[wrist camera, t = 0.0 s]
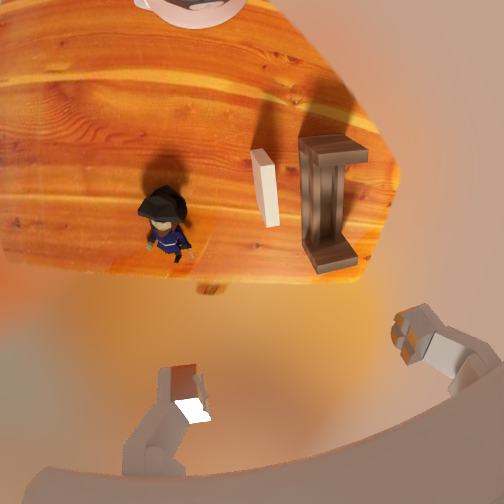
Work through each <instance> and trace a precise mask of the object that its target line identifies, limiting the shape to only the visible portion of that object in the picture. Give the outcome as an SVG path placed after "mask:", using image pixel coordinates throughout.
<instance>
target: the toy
mask: <svg viewBox="0 0 504 504" xmlns="http://www.w3.org/2000/svg"><path fill="white" fill-rule="evenodd" d="M187 212H188V211H187V207H186V202H185V199H184V198H182V197H181V196H180V195H179V194H178V193H177V192H176V191H175V190H173V189H172V188H170V187H169V186H168V185H166V186H163V187H161V188H158V189H156V190H155V191H154V192H153V193H152V194H151V196H150V197H148V198H145V199H144V201H143V202H142V204H141V206H140V207H139V209H138V215H139V216H143V217H147V218H149V221H150V225H151V229H152V230H153V228H154V230H153V234H152V236H151V237H150V238H149V242H148V243H147V245H146V248H147V250H149V251H150V250H151V249H152V248H153V243H155V241H156V237H157V239H158V244H157V247H159V248H160V249H162V250H163V251H165V253H168V254H170V253H175V255H176V258H175V261H174V262H175V263H178V262H179V260H180V258H181V256H182V255H181V251H180V250H181V248H182V249H187V251H188V248H192V247H191V244H189V242H188V241H187V239H186V237H185V235H184V234H183V232H182V230H181V229H180V227H179V225H178V223H179V222H180V223H184V221H185V218H186V215H187ZM178 237H179V238H180V239H181V240H180V239H179V238H178ZM188 252H189V253H191V254H192V252H190V251H188ZM193 257H194V256H193V254H192V258H191V259H189V260H192V259H193Z"/></svg>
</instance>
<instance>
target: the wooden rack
mask: <svg viewBox="0 0 504 504" xmlns="http://www.w3.org/2000/svg"><path fill="white" fill-rule="evenodd" d="M298 147H299V166H300V188H301V219H302V246H303V248H304V250H305V252H306V254H307V256H308V258H309V259H310V261H311V263H312V265H313V267H314V269H315V271H316V273H317V275H318V274H322V273H326V272H330V271H335V270H339V269H343V268H347V267H351V266H356V265H357V263H358V255H357V254H356V253H355V251H354V250H353V248H352V247H351V246H350V244H349V243H348V241H347V240H346V239H345V237H344V236H343V235H342V233H341V229H342V214H343V195H344V165H346V164H356V163H365V162H368V149H366V148H365V147H363V146H362V145H360V144H358V143H357V142H355V141H354V140H352V139H350V138H348V137H347V136H345V135H343V134H331V135H319V136H309V137H300V138H298Z"/></svg>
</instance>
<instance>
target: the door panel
mask: <svg viewBox="0 0 504 504" xmlns="http://www.w3.org/2000/svg"><path fill="white" fill-rule="evenodd" d="M250 152H251V160H252V167H253V175H254V183H255V191H256V199H257V205H258V207H259V210H260V212H261V215H262V217H263V220H264V222H265V225H266V227H267V228H268V227H273V226H278V225H279V212H278V199H277V187H276V176H275V165H274V163H273V162H272V160H271V159H270V158H269V156H268V155H267V153H266V152H265V151H264V149H263V148H260V149H254V150H250Z"/></svg>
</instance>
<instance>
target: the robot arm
mask: <svg viewBox="0 0 504 504" xmlns="http://www.w3.org/2000/svg"><path fill="white" fill-rule="evenodd" d="M246 2H247V0H134V3H135V5H136V6H137V7H139V8H143V9H146V10H151V11H153V12H155V13H156V14H157V15H158V16H159V17H161V18H162V19H163V20H165V21H166V22H168V23H170V24H172V25H175V26H178V27H182V28H189V29H200V28H208V27H212V26H215V25H218V24H221V23H223V22H225V21H227V20H229V19H230V18H232V17H233V16H235V15H236V14H237V13H238V12H239V11H240V10H241V9H242V8H243V6H244V5H245V3H246ZM394 321H395V322H396V323H395V324H394V325H393V326H392V328H391V339H392V342H393V344H394V346H395V347H396V348H398V349H400V350H401V352H400V355H401V357H402V358H403V360H404V362H405V363H406V365H407V366H408V365H410V364H413V363H415V362H418V361H420V360H422V359H423V361H424V362H426V363H427V364H429V365H431V366H432V367H434V368H435V369H437V370H439V371H440V372H442V373H443V374H445V375H446V376H448V377H449V378H451V379H453V381H452V382H451V384H450V385H449V387H448V392H449V394H450V395H451V397H450V398H448V399H447V400H445V401H443V402H441V403H440V404H438V405H436V406H434V407H432V408H430V409H428V410H427V411H425V412H423V413H421V414H419V415H417V416H415V417H413V418H411V419H409V420H407V421H404V422H402V423H400V424H398V425H396V426H393V427H391V428H389V429H386V430H384V431H382V432H379V433H377V434H374V435H372V436H369V437H367V438H364V439H362V440H359V441H356V442H353V443H350V444H348V445H345V446H342V447H339V448H336V449H333V450H329V451H326V452H323V453H319V454H316V455H312V456H309V457H305V458H301V459H297V460H293V461H289V462H284V463H280V464H275V465H270V466H266V467H260V468H254V469H248V470H242V471H234V472H227V473H218V474H208V475H195V476H186V472H185V467H184V466H183V465H181V464H180V463H179V462H178V461H176V460H175V459H174V458H173V456H174V455H175V453H176V451H177V449H178V447H179V445H180V443H181V441H182V439H183V437H184V436H185V434H186V431H187V430H188V428H189V426H190V423H192V422H199V421H207V420H211V418H210V406H209V404H208V402H207V400H206V399H207V398H208V388H207V383H206V380H205V377H204V375H203V374H201V370H200V367H199V365H198V364H190V365H182V366H173V367H165V368H160V369H159V372H158V389H157V404H153V406H152V407H151V408H150V409H149V411H148V412H147V414H146V415H145V417H144V418H143V419H142V421H141V422H140V423H139V425H138V426H137V428H136V429H135V430H134V432H133V433H132V434H131V436H130V437H129V438H128V440H127V441H126V443H125V444H124V445H123V458H122V459H123V460H122V475H109V474H99V473H91V472H83V471H77V470H71V469H65V468H60V467H55V466H46V467H45V468H43V469H42V470H41V471H40V472H39V473H38V474H37V475H36V476H35V477H34V478H33V479H32V480H31V482H30V483H29V484H28V485H27V487H26V489H25V492H24V496H23V501H22V504H504V362H502V361H501V360H500V358H499V357H498V356H497V354H496V353H495V352H494V350H493V349H492V348H491V347H490V345H489V344H488V343H486V342H484V341H481V340H479V339H477V338H475V337H472V336H470V335H468V334H466V333H463V332H461V331H459V330H456V329H454V328H452V327H450V326H447V327H446V326H445V325H444V324H443V322H442V321H441V320H440V319H439V318H438V316H437V315H436V314H435V313H434V311H433V310H432V309H431V308H430V307H429V306H428V305H427V304H426V303H424V304H421V305H419V306H416V307H412V308H410V309H407V310H405V311H402V312H399V313H397V314H396V315H395V317H394Z"/></svg>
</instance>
